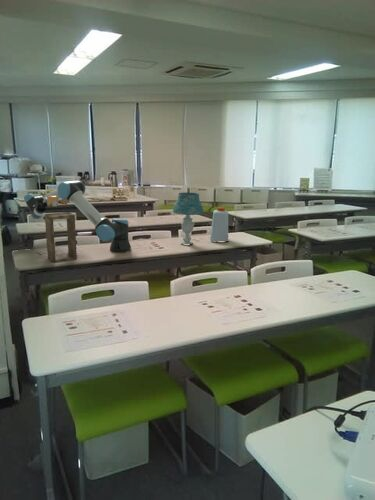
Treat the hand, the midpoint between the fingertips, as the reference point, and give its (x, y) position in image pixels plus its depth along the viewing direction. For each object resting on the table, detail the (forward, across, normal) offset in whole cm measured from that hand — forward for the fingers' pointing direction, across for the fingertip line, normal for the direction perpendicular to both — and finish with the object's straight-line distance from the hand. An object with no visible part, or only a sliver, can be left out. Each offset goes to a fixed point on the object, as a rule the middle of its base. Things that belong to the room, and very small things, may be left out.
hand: (48, 197), depth 252 cm
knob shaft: (0, 0, -5) cm, 5 cm away
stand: (0, 0, -44) cm, 44 cm away
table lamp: (+10, -96, -50) cm, 109 cm away
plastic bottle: (+14, -126, -52) cm, 137 cm away
